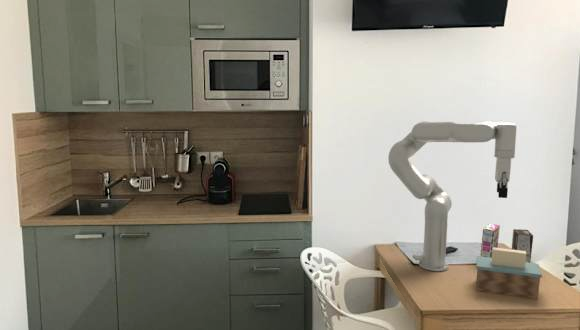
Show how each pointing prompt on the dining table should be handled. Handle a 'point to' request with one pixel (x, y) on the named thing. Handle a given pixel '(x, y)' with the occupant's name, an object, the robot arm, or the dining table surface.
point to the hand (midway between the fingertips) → (501, 194)
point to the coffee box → (522, 242)
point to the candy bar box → (489, 239)
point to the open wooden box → (507, 284)
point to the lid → (509, 263)
